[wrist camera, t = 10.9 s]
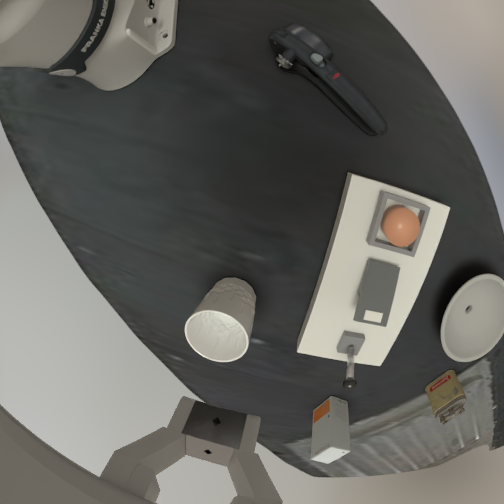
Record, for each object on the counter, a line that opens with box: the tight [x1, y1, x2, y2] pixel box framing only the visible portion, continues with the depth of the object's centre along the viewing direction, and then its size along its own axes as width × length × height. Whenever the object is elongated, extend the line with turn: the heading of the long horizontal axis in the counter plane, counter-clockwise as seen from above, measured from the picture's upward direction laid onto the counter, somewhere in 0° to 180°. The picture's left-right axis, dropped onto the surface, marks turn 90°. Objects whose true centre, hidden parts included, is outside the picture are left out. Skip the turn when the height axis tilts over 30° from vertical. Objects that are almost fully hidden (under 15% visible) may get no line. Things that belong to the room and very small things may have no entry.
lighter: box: [425, 370, 467, 425], centre depth 37 cm, size 7×4×10 cm, turn 138°
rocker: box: [353, 260, 400, 327], centre depth 32 cm, size 8×4×1 cm, turn 170°
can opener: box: [269, 23, 388, 136], centre depth 26 cm, size 18×7×6 cm, turn 44°
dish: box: [441, 274, 504, 362], centre depth 33 cm, size 18×14×5 cm
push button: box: [380, 205, 420, 247], centre depth 29 cm, size 4×4×2 cm
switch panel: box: [297, 172, 450, 366], centre depth 35 cm, size 26×14×5 cm, turn 169°
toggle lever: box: [343, 347, 356, 390], centre depth 34 cm, size 2×2×7 cm
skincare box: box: [311, 396, 350, 464], centre depth 42 cm, size 6×4×12 cm
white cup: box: [185, 277, 256, 362], centre depth 37 cm, size 8×8×10 cm
